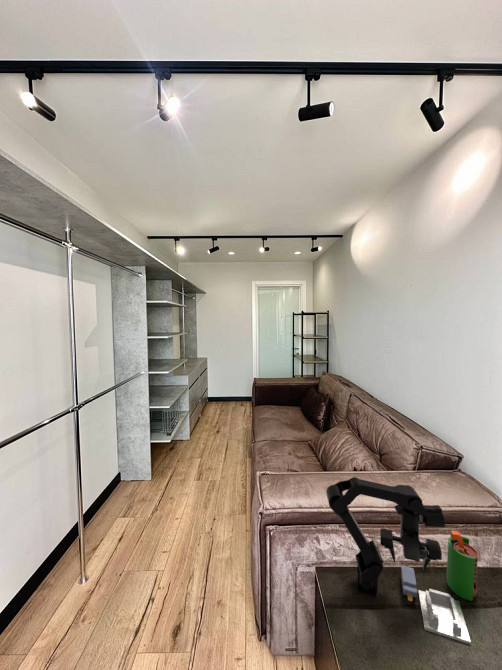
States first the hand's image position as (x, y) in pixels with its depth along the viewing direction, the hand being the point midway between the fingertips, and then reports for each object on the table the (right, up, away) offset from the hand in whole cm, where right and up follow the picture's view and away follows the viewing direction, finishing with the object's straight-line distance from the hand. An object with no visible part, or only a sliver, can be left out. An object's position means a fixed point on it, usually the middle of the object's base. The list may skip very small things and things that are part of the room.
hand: (408, 565), depth 106 cm
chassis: (+6, -10, -9) cm, 15 cm away
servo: (0, -9, +1) cm, 9 cm away
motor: (+19, -9, +1) cm, 21 cm away
